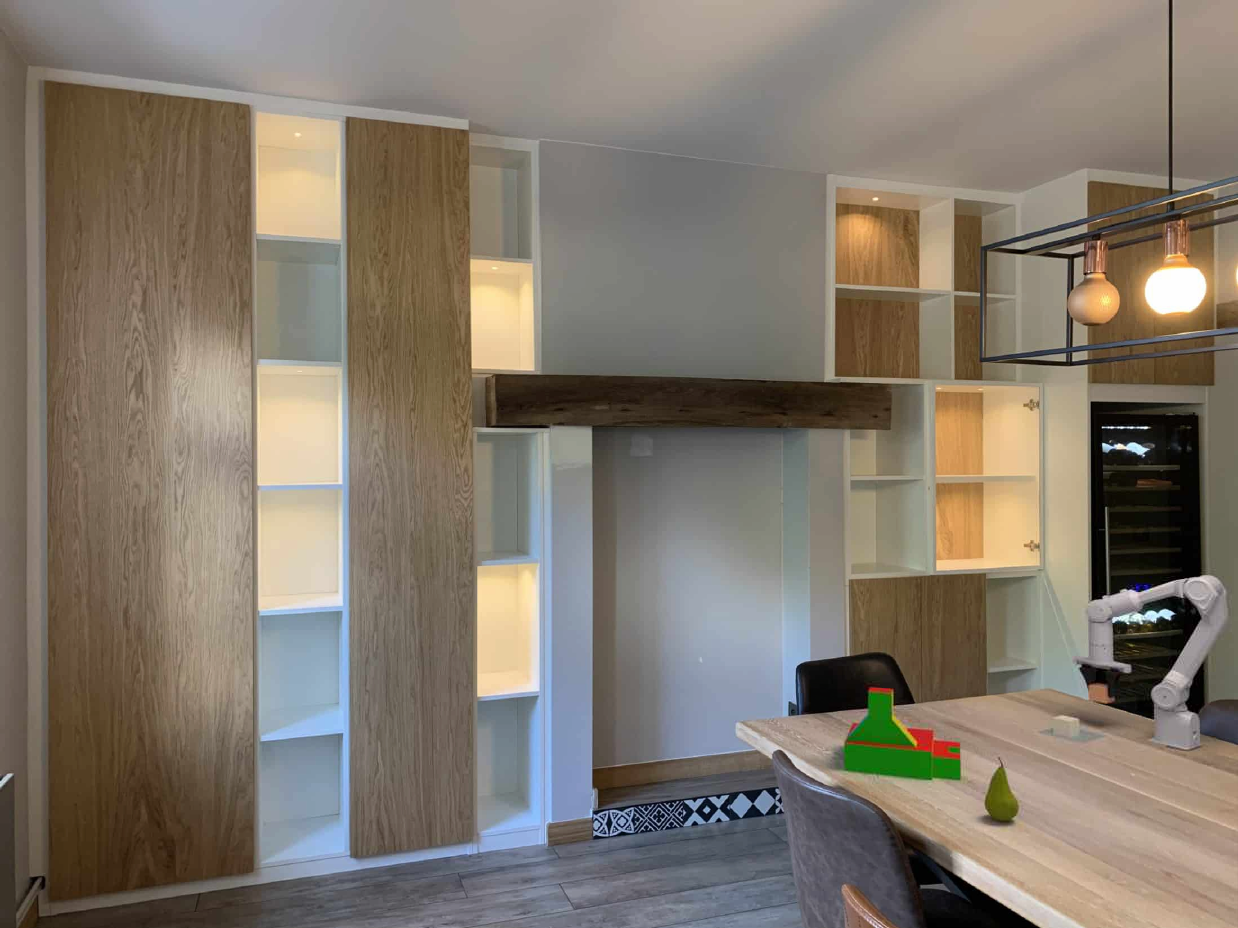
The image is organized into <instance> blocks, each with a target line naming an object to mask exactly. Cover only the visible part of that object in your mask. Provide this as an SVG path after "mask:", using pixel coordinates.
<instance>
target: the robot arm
mask: <svg viewBox="0 0 1238 928" xmlns="http://www.w3.org/2000/svg"><path fill="white" fill-rule="evenodd" d="M1170 597H1176V598H1180V599H1181V598H1182V599H1185V598H1187V599H1188V600H1189V601H1190V602H1191V603H1192V604H1193V605H1194V606H1195V607H1196V609H1197V611H1198V612H1199V615H1200V617H1201V619H1200V620H1199V621H1198V622H1199V623H1198V624H1197V626H1196V627H1195V629H1194V631H1193V632H1192V634H1191V635H1190V638H1189V640H1188V641H1187V642H1186V644H1185V646H1184V648H1183V650H1182V651H1181V653H1180V655H1179V656H1178V657H1177V660H1176V661H1175V663H1174V664H1173V666H1172V668H1171V670H1170V671H1169V672H1168V673H1167V674H1166V676H1164V678H1163V680H1162V681H1161V683H1159V684H1157V685H1155V686H1154V687H1153V688H1152V689H1151V692H1150V695H1151V699H1152V702H1153V703H1154V704H1153V708H1154V709H1153V714H1154V715H1153V720H1154V723H1153V724H1154V725H1153V727H1154V737H1151V738H1149V739H1147V741H1149V742H1153V743H1157V744H1161V745H1166V747H1171V748H1175V749H1179V750H1184V751H1190V750H1193V749H1196V748H1198V747H1201V746H1202V743H1201V732H1200V731H1201V728H1200V727H1201V723H1200V722H1201V721H1200V717H1199V715H1198V714H1197V713H1195V712H1192V711H1189V709H1188V707H1187V705H1186V702H1187V701H1188V700H1189V697H1190V687H1191V686H1192V684H1193V679H1194V677H1195V676H1196V674H1197V673H1198V670H1199V668H1200V667H1201V665H1202V664H1203V662H1204V660H1205V659H1206V657H1207V655H1208V654H1209V652H1210V650H1211V649H1212V647H1213V646H1214V644H1215V642H1216V641H1217V638H1218V637H1219V635H1220V634H1221V632H1222V631H1223V629H1224V627H1225V626H1226V624H1227V622H1228V619H1229V614H1228V605H1227V590H1226V588H1225V587H1224V586H1223V584H1222V582H1221V581H1220V580H1219V579H1218V578H1217V577H1216V576H1213V575H1209V574H1204V575H1200V576H1198V577H1197V576H1195V577H1189V578H1184V579H1176V580H1172V581H1169V582H1167V583H1164V584H1160V585H1157V586H1155V587H1152V588H1148V589H1146V590H1145V589H1144V590H1142V591H1140V592H1138V591H1136V590H1134V589H1129V590H1128V589H1126V588H1124V589H1121V590H1120V589H1119V592H1118V593H1115V594H1112V595H1110V596H1108V595H1103V596H1102V598H1101V599H1094V600H1092V601H1090V602H1089V603H1088V604H1087V605H1086V606H1085V615H1086V617H1087V618H1088V657H1084V656H1078V655H1077V656H1072V664H1073V665H1078V666H1079V665H1081V666H1080V667H1079V668H1078V670H1079V672H1080V674H1081V675H1082V677H1083V679H1084V682H1085V684H1086V687H1087V691H1088V693H1089V685H1092V684H1096V678H1097V677H1096V676H1097V671H1098V669H1105V670H1106V671H1104V674H1105V678H1106V685H1108V697H1109V698H1112V697H1114V698H1115V695H1116V690H1117V688H1118V685H1119V683H1120V680H1121V679H1122V677H1123V676H1124V673H1125V674H1129V673H1132V665H1131V664H1127V663H1123V662H1118V661H1114V632H1113V631H1114V630H1113V629H1114V628H1113V619H1114V618H1119V617H1123V616H1126V615H1130V614H1134V613H1135V612H1136V613H1137V612H1140V611H1141V610H1142V609H1143V607H1144V605H1145V604H1148V603H1151V602H1155V601H1158V600H1162V599H1166V598H1170Z"/></svg>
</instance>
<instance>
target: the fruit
mask: <svg viewBox="0 0 1238 928" xmlns="http://www.w3.org/2000/svg"><path fill="white" fill-rule="evenodd" d="M997 758H998V760H999V762H1000V766H998V768H997V769H996V770H995V771H994V773H993V775H992V777H991V779H990V782H989V786H988V789H987V793H986V794H985V797H984V808H985V810H986V811H987V813H988V815H989V816H990V817H991V818H992V819H993V820H994V821H998V822H1010V821H1011V820H1012V819H1014V818H1015V817H1016V816H1017V815H1018V813H1019V809H1020V808H1019V807H1020V806H1019V802H1018V799H1017V798H1016V796H1015V795H1014V793H1013V792H1012V790H1011V786H1010V785H1009V781H1008V776H1007V772H1006V769H1005V767H1004V764H1003V762H1002V759H1001V758H1000V756H998V757H997Z"/></svg>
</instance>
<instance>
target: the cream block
mask: <svg viewBox="0 0 1238 928" xmlns="http://www.w3.org/2000/svg"><path fill="white" fill-rule="evenodd" d="M1052 719H1053V720H1052V722H1053V727H1052V728H1053V733H1056V734H1060V735H1064V736H1068V737H1072V736H1075V735H1078V734H1079V729H1080V719H1079V718H1076V717H1073V716H1072V717H1071V716H1069V715H1068V716H1067V715H1062V714H1061V715H1059V716H1055V717H1053V718H1052Z"/></svg>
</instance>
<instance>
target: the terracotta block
mask: <svg viewBox="0 0 1238 928" xmlns="http://www.w3.org/2000/svg"><path fill="white" fill-rule="evenodd" d="M1088 701H1092V702H1096V703H1102V704H1109V703H1113V702H1115V696H1114V697H1112V698H1109V697H1108V685H1107V684H1106V683H1105V684H1104V683H1099V682H1097V683H1096V682H1095V684H1092V685H1089V692H1088Z"/></svg>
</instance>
